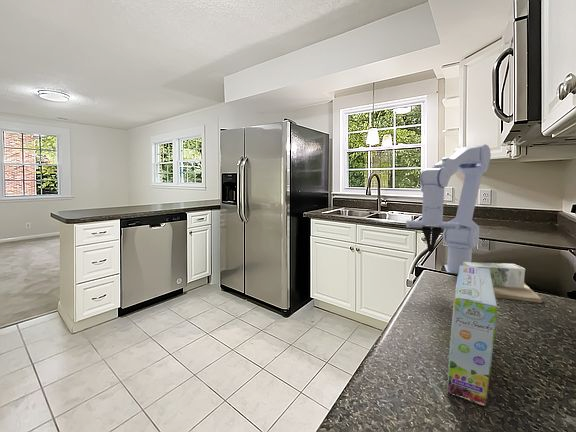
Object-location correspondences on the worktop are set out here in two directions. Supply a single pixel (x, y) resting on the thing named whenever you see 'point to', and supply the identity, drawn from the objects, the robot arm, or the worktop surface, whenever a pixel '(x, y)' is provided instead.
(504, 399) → the worktop surface
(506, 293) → the cutting board
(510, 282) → the syrup box
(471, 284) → the snack box
